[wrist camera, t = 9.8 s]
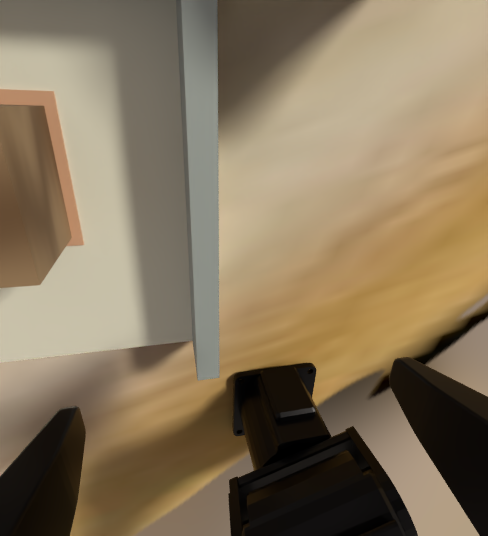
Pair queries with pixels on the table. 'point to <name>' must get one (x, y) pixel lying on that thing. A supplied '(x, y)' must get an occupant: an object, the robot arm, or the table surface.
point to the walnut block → (29, 198)
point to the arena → (121, 174)
